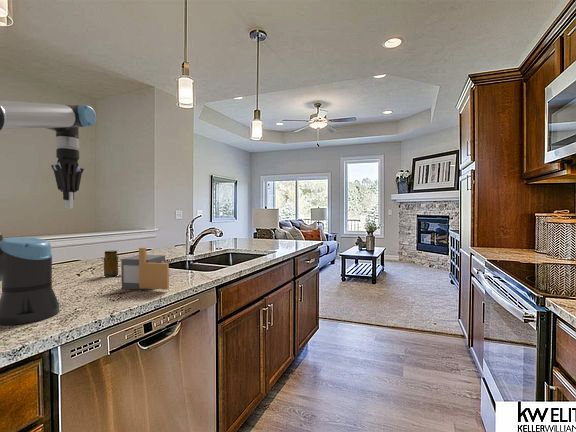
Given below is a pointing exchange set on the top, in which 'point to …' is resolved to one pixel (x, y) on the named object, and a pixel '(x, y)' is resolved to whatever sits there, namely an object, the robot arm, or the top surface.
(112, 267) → the condiment
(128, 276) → the housing
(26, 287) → the robot arm
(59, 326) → the top surface
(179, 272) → the top surface
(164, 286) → the door
